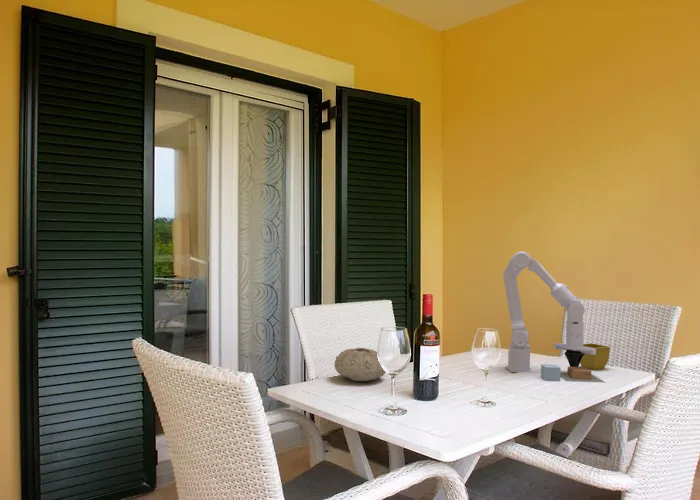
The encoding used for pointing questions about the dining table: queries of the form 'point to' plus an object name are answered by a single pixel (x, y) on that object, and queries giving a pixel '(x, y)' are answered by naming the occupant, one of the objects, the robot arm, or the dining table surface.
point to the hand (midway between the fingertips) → (574, 371)
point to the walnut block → (579, 373)
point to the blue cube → (550, 372)
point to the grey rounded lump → (359, 364)
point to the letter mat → (568, 378)
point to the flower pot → (595, 357)
